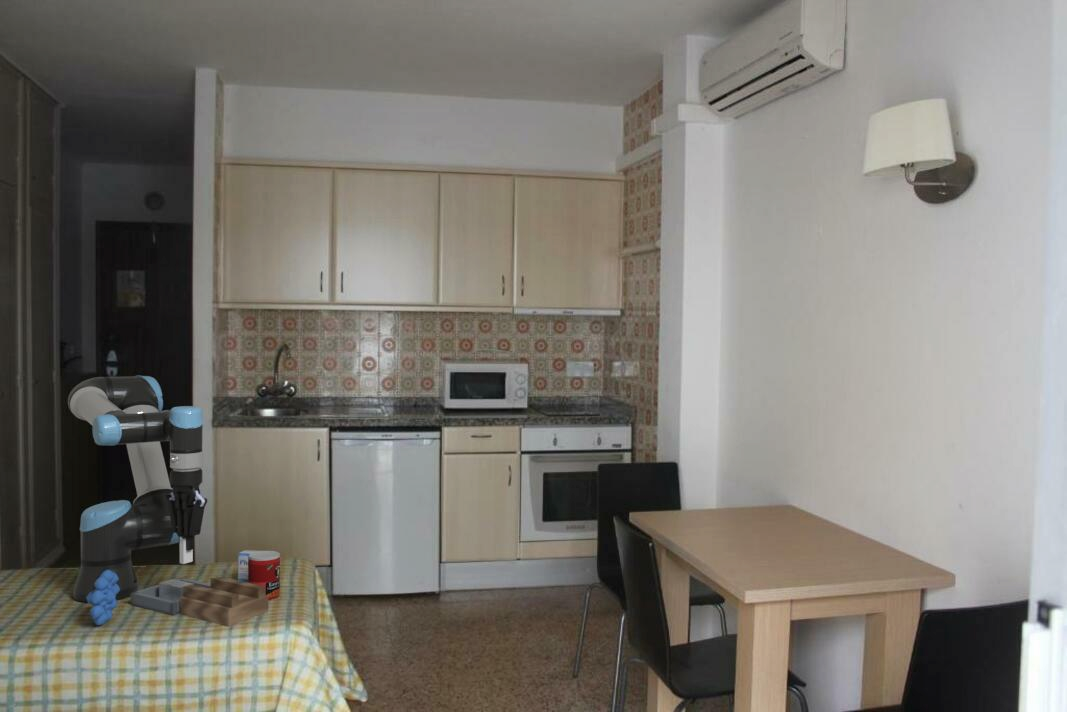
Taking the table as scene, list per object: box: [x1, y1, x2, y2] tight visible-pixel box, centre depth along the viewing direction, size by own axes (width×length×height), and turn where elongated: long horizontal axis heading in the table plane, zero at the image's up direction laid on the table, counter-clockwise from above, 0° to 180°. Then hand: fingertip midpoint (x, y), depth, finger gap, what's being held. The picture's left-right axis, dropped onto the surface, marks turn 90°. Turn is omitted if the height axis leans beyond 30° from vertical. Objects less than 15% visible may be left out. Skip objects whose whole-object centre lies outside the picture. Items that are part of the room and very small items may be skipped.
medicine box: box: [237, 549, 259, 583], centre depth 230 cm, size 8×4×9 cm, turn 77°
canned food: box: [248, 550, 281, 601], centre depth 218 cm, size 8×8×11 cm
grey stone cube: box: [158, 578, 183, 600], centre depth 215 cm, size 4×4×4 cm
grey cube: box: [170, 581, 194, 601], centre depth 213 cm, size 4×4×4 cm
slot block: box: [179, 575, 269, 627], centre depth 205 cm, size 17×12×6 cm
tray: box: [130, 577, 211, 616], centre depth 214 cm, size 16×15×3 cm
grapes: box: [86, 570, 120, 626], centre depth 198 cm, size 12×7×12 cm, turn 4°
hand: (186, 562), depth 212 cm, fingers closed
